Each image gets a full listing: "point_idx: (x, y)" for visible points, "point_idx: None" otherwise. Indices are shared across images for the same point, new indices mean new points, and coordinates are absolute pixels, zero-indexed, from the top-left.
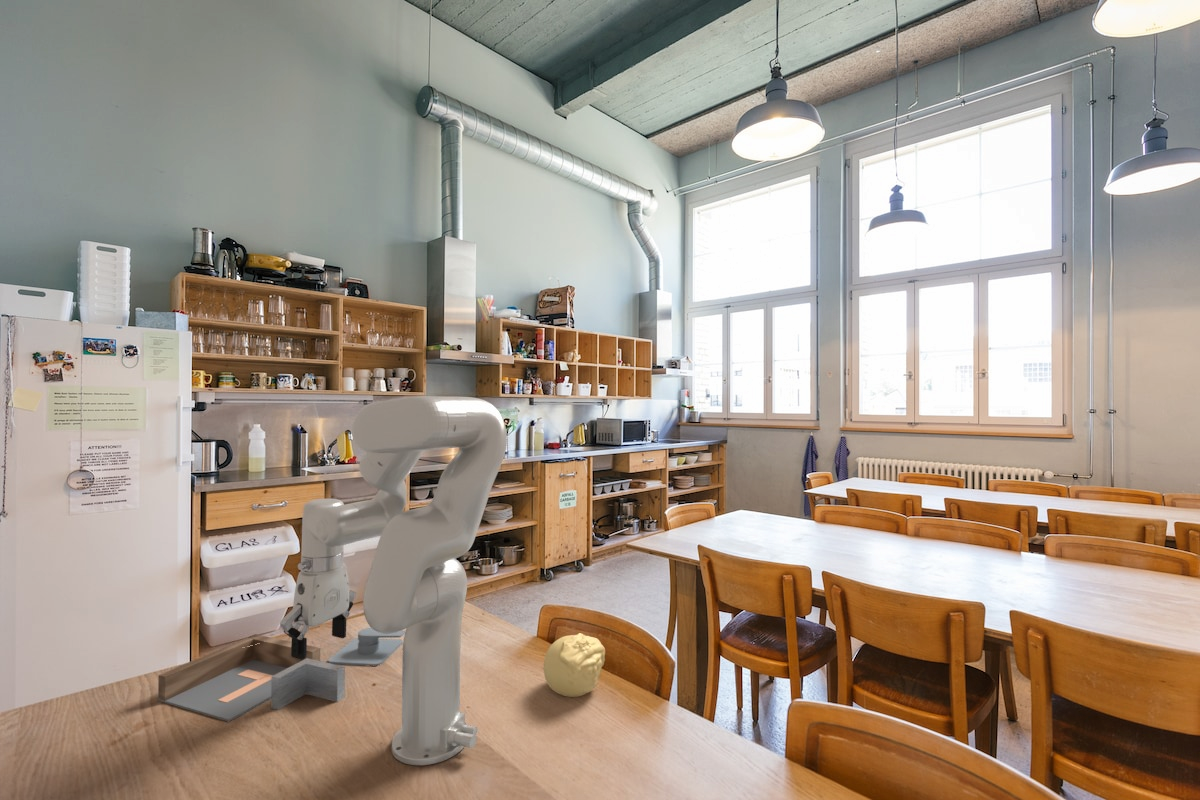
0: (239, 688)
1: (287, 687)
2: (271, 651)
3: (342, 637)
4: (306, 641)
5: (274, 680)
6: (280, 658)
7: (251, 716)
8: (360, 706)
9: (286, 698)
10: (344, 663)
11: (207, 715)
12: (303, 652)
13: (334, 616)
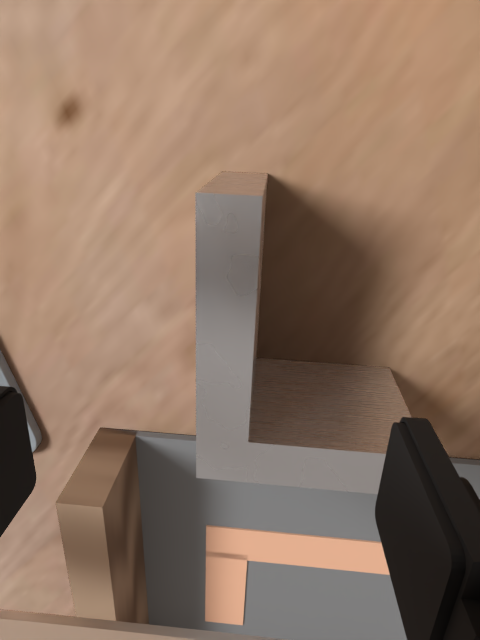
0: (309, 569)
1: (358, 405)
2: None
3: (18, 395)
4: (441, 526)
5: None
6: (136, 586)
7: (448, 421)
8: (268, 7)
9: (355, 378)
10: (11, 380)
11: None
12: (442, 455)
13: (29, 631)
